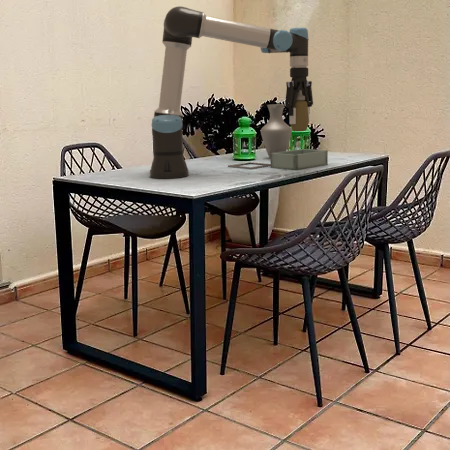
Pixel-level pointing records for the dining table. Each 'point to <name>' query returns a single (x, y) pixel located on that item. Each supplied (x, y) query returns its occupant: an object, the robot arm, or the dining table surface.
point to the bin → (299, 159)
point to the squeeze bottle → (301, 114)
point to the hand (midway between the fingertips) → (299, 123)
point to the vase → (276, 131)
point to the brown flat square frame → (249, 167)
